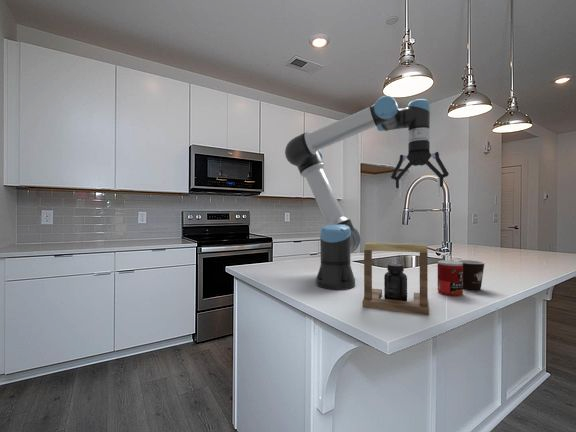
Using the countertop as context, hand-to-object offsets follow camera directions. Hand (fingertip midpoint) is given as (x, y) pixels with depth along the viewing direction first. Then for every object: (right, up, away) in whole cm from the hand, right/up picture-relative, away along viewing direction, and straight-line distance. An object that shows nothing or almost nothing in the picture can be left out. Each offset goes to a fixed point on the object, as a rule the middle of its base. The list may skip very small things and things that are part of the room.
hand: (418, 196), depth 113 cm
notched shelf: (-17, -35, -22) cm, 44 cm away
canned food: (+6, -35, -11) cm, 37 cm away
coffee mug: (+15, -35, -5) cm, 38 cm away
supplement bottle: (-17, -35, -21) cm, 44 cm away
